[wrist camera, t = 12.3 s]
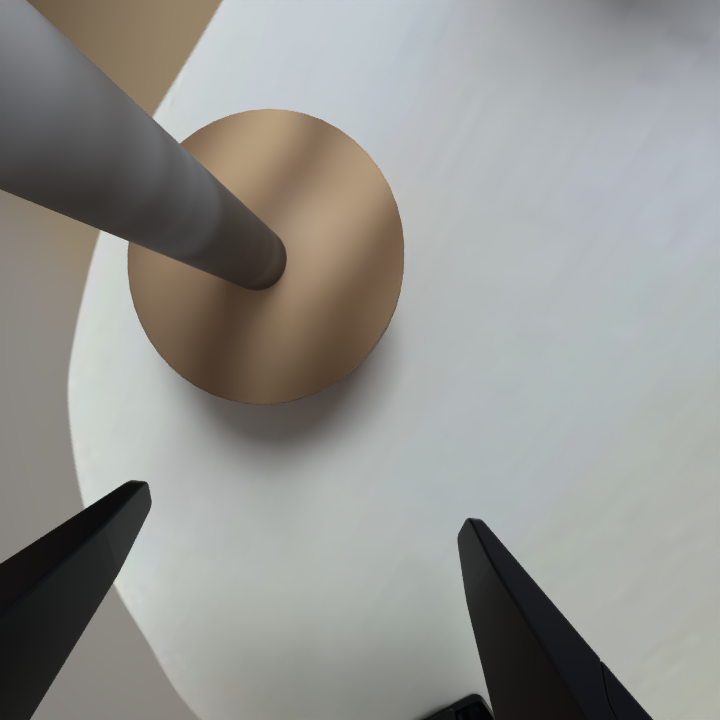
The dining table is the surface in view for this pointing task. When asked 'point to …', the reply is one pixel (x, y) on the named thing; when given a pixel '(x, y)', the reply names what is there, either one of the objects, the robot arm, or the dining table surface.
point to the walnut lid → (210, 220)
